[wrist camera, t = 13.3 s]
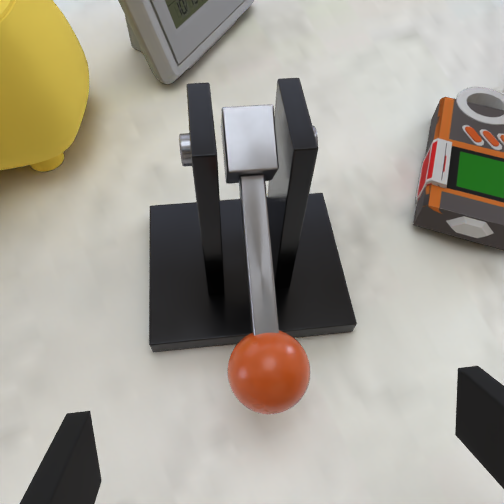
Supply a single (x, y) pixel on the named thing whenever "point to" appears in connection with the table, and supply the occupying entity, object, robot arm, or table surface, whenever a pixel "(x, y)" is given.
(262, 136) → the switch lever
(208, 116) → the switch bracket
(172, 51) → the digital clock
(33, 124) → the teapot
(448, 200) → the electronic device
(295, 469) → the table surface
